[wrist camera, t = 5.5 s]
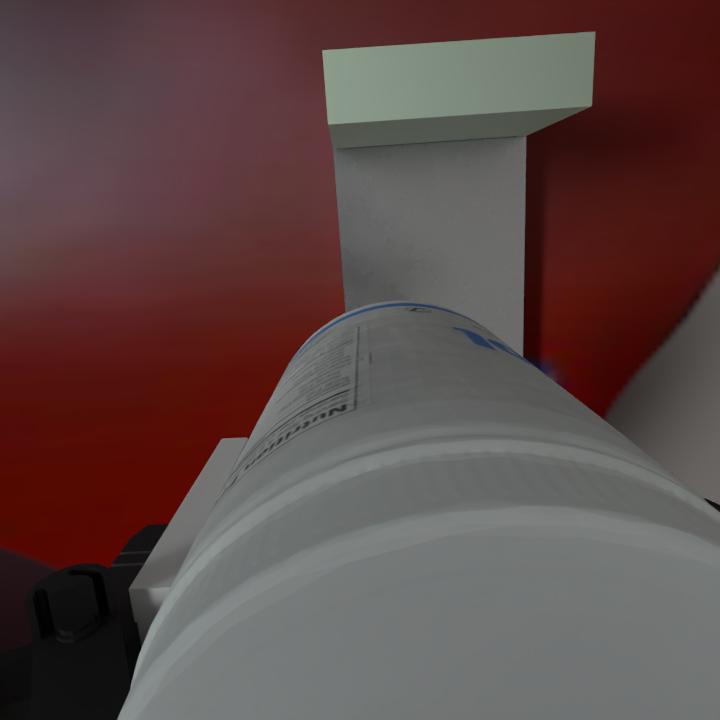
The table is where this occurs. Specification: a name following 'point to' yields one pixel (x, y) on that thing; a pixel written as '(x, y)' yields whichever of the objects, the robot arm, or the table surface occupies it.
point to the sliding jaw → (456, 88)
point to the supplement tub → (437, 550)
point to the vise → (437, 227)
